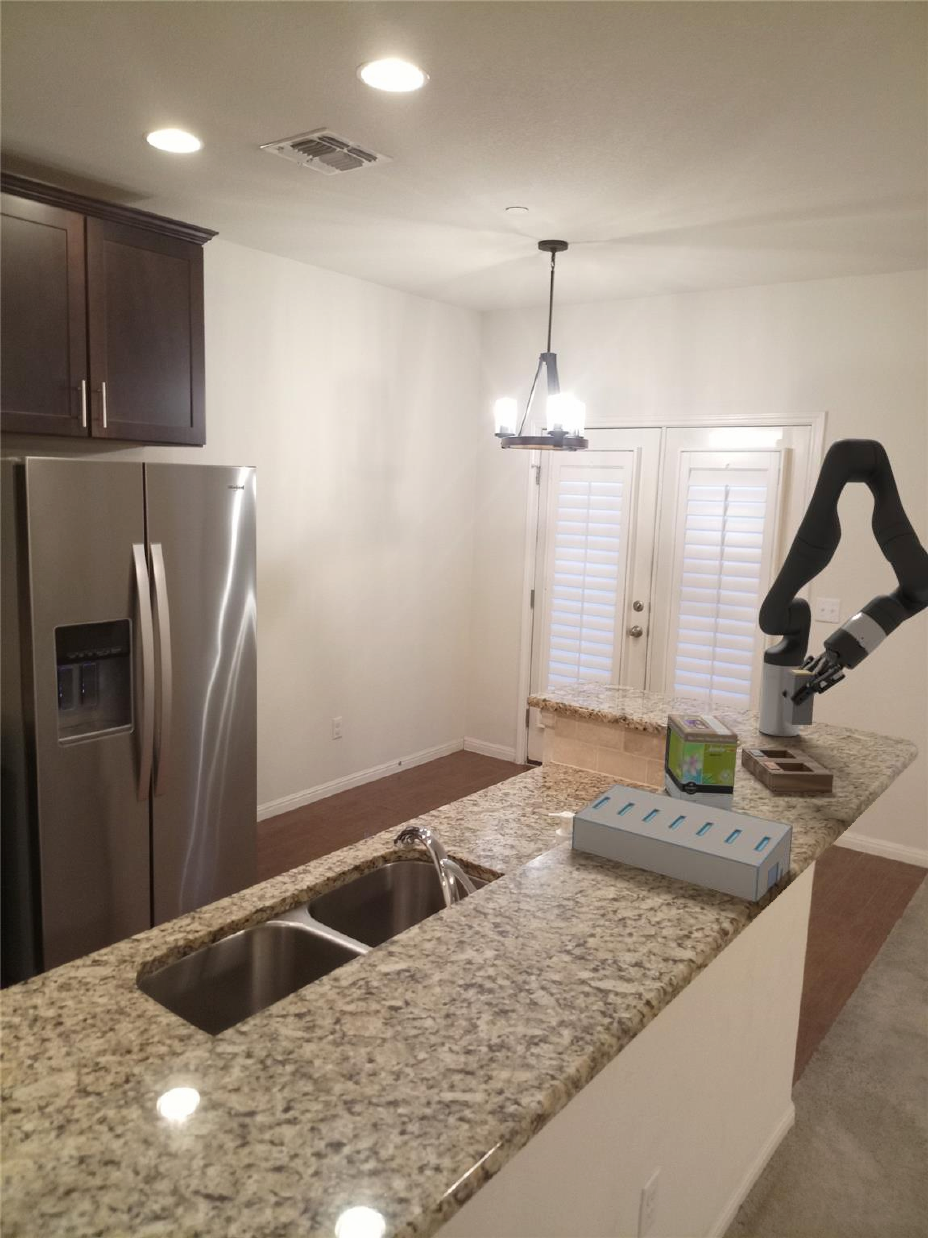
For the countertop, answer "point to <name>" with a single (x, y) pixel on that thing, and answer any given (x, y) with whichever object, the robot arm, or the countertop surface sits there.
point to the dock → (786, 770)
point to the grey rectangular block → (805, 710)
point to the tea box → (700, 760)
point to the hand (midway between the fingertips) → (789, 699)
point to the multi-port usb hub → (685, 840)
